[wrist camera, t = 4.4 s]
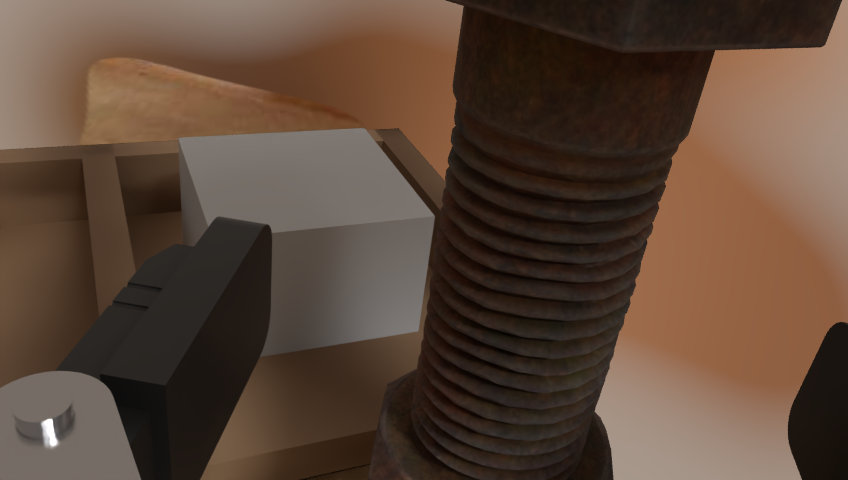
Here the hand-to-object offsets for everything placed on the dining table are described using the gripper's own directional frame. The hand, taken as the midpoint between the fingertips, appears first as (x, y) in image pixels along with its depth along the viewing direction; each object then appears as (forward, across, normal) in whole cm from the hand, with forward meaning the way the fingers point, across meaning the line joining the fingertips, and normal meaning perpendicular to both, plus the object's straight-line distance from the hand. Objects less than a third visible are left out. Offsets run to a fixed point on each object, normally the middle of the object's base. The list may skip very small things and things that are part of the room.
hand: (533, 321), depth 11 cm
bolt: (+1, 0, +9) cm, 9 cm away
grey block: (+11, +6, +8) cm, 15 cm away
